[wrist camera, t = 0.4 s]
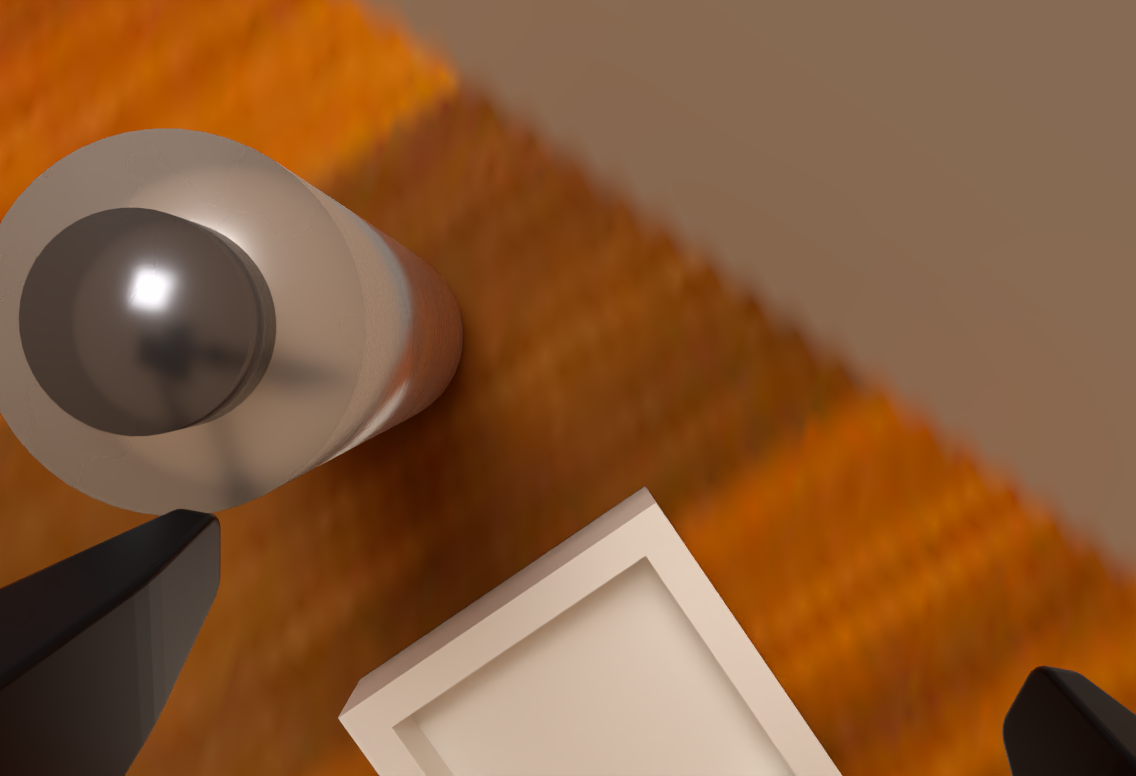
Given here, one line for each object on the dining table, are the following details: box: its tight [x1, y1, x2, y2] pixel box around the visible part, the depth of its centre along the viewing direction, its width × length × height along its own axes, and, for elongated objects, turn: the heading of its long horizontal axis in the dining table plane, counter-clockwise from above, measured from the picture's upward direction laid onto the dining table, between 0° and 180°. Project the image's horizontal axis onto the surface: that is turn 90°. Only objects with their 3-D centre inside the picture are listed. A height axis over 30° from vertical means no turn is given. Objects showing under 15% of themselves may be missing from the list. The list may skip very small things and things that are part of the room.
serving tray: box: [338, 487, 842, 776], centre depth 23 cm, size 10×10×2 cm
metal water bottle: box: [0, 129, 463, 515], centre depth 17 cm, size 5×5×14 cm
